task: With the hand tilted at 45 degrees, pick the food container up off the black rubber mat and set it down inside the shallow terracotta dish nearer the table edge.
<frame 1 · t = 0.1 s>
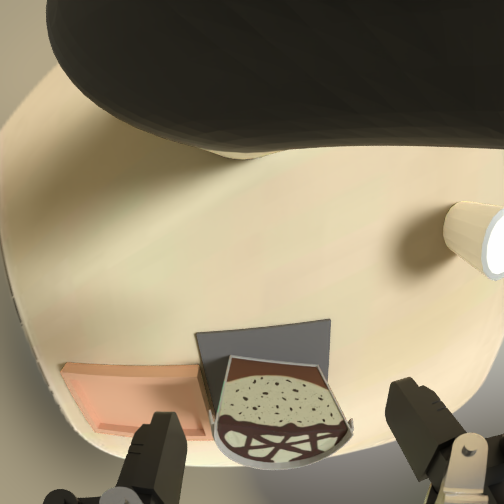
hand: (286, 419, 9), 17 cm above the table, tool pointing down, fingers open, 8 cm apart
mat: (268, 380, 30), on the table
food container: (268, 381, 30), resting on mat
dish: (139, 399, 31), on the table
white cup: (460, 226, 26), on the table
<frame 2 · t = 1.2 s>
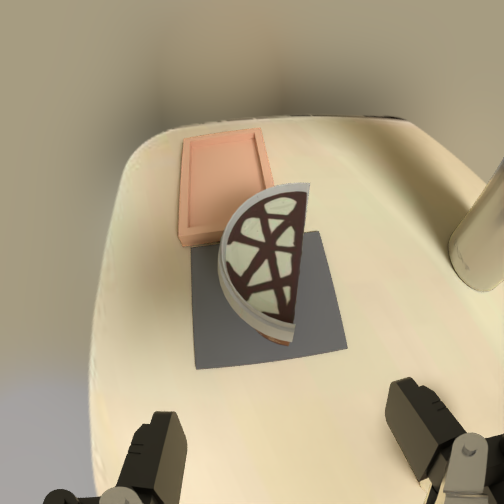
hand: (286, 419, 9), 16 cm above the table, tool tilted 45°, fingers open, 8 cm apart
mat: (263, 296, 29), on the table
food container: (263, 296, 29), resting on mat
dish: (226, 183, 37), on the table
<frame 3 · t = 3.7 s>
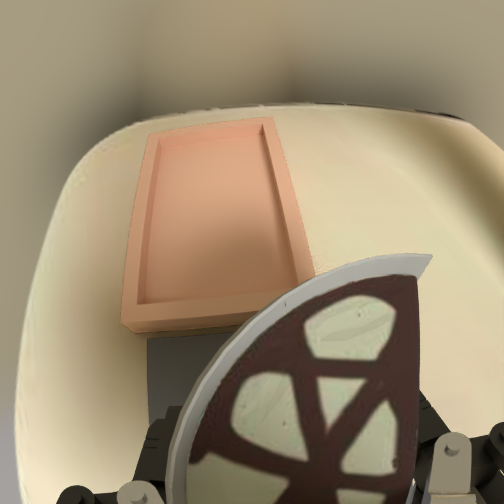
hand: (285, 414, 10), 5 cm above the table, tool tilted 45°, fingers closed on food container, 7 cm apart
mat: (280, 441, 13), on the table
food container: (280, 441, 13), resting on mat, touching gripper
dish: (214, 211, 21), on the table
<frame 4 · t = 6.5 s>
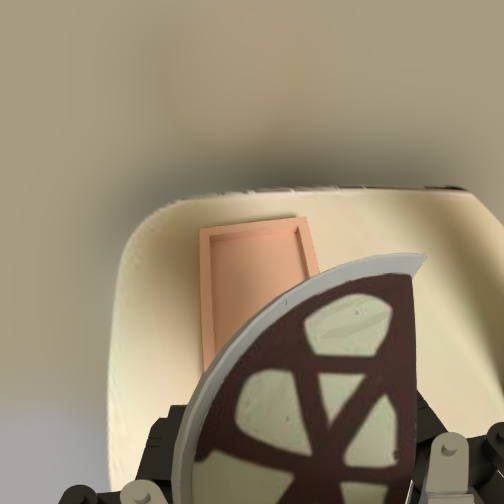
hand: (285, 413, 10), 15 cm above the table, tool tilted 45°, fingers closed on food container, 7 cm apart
food container: (276, 440, 13), point 10 cm above the table, touching gripper
dish: (263, 308, 28), on the table
when the fingers open (6 cm above the table, at t = 9.5 s): food container stays where it is, resting on dish.
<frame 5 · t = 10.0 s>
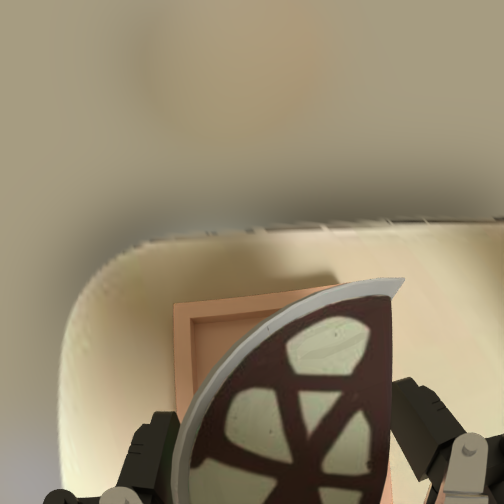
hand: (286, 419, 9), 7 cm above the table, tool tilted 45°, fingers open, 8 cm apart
food container: (273, 441, 14), point 1 cm above the table, touching dish
dish: (282, 437, 15), on the table
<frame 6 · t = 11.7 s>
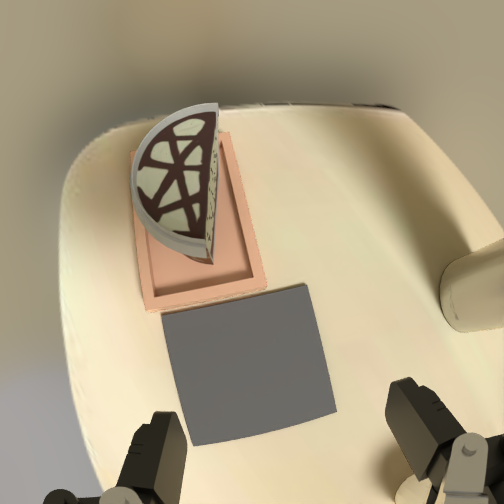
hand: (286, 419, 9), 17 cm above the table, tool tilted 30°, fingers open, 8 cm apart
mat: (250, 369, 26), on the table
food container: (185, 217, 29), point 1 cm above the table, touching dish
dish: (191, 218, 29), on the table
white cup: (413, 489, 22), on the table
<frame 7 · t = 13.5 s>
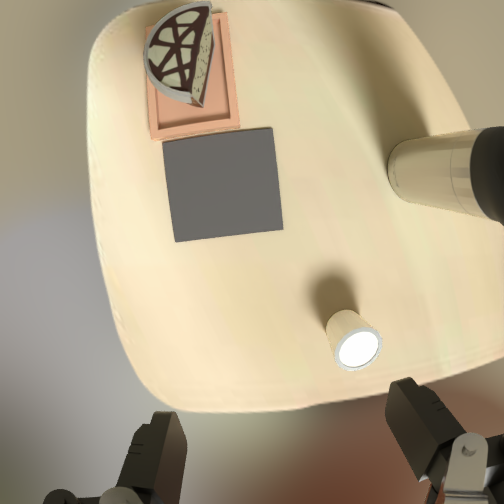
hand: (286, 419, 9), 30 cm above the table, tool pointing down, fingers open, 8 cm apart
mat: (222, 184, 37), on the table
food container: (186, 74, 33), point 1 cm above the table, touching dish
dish: (191, 74, 33), on the table
white cup: (343, 325, 42), on the table
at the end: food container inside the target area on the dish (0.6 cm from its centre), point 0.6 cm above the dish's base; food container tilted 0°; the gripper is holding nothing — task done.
